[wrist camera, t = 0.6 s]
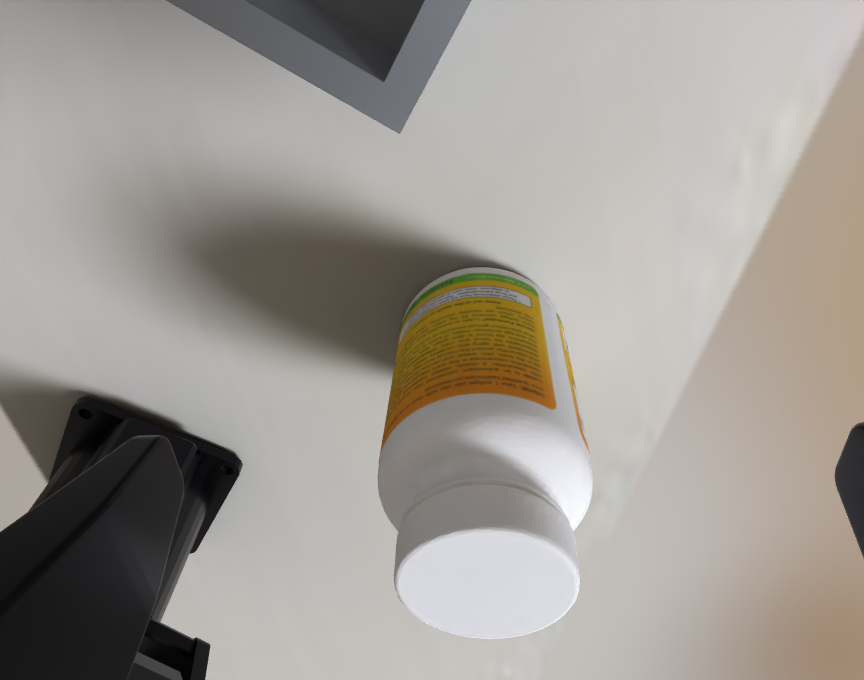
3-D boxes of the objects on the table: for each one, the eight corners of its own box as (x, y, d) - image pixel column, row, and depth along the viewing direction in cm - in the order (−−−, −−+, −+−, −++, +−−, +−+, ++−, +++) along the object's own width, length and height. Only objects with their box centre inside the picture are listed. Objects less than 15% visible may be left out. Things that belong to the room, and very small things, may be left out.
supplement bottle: (367, 324, 22) (306, 575, 14) (492, 229, 20) (507, 462, 12) (470, 418, 24) (469, 682, 16) (594, 342, 22) (664, 604, 14)
